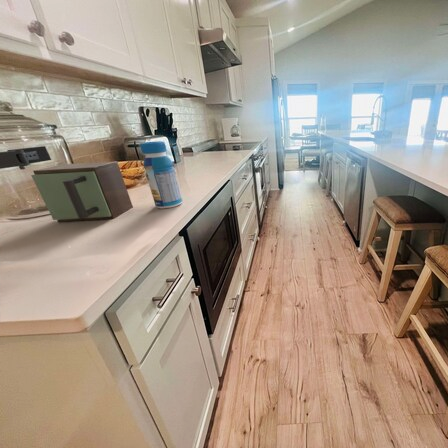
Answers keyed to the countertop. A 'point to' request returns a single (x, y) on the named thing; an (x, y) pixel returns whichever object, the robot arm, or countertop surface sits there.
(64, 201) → the sliding door
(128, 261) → the countertop surface
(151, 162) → the beverage bottle
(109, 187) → the cabinet
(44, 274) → the countertop surface
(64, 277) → the countertop surface
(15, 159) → the robot arm
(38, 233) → the countertop surface
